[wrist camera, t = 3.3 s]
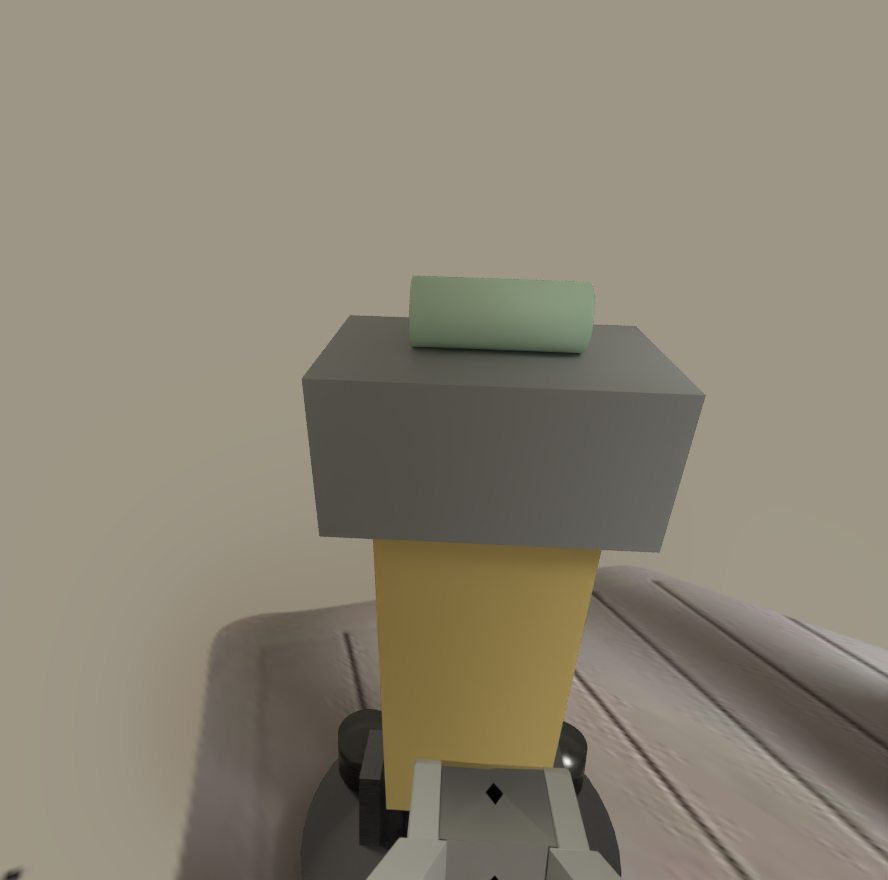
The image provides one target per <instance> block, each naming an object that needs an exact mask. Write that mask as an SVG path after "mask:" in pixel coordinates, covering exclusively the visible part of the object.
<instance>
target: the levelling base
mask: <svg viewBox="0 0 888 880" xmlns="http://www.w3.org/2000/svg"><path fill="white" fill-rule="evenodd" d="M338 751H339V758H338V760H337V761H336V762H335V763H334V764H333V765H332V767H331V768H330V770H329V771H328V773H327V774H326V775H325V777H324V778H323V780H322V782H321V784H320V786H319V788H318V789H317V791H316V793H315V795H314V798H313V800H312V803H311V806H310V808H309V811H308V814H307V818H306V823H305V827H304V831H303V839H302V849H301V864H302V880H366V879H367V878H368V876H369V875H370V874H371V872H372V871H373V870H374V869H375V867H376V866H377V865H378V864H379V862H380V861H381V860H382V859H383V857H384V856H385V855H386V854H387V852H388V851H389V850H390V849H391V847H392V846H393V845H394V843H395V842H396V841H397V840H398V838H407V833H408V824H409V814H410V811H407V810H391V809H386V790H385V770H384V749H383V729H382V712H381V711H378V710H372V709H367V710H360V711H357V712H355V713H353V714H351V715H349V716H348V717H347V718H345V719H344V721H343V722H342V723H341V725H340V727H339V731H338ZM586 755H587V743H586V740H585V738H584V736H583V735H582V733H581V732H580V731H579V730H578V729H576V728H575V727H574V726H572V725H570V724H568V723H566V722H564V721H563V724H562V729H561V733H560V738H559V742H558V747H557V751H556V756H555V760H554V765H553V768H567V769H568V770H569V772H570V773H571V777H572V781H573V785H574V789H575V793H576V797H577V801H578V805H579V809H580V813H581V817H582V821H583V825H584V829H585V833H586V837H587V841H588V845H589V849H590V851H598V852H599V853H600V854H601V855H602V857H603V858H604V859H605V860H606V861H607V862H608V863H609V865H610V866H611V867H612V868H613V869H614V870H615V871H616V873H617V874H618V875H619V876H620V877H621V866H620V855H619V849H618V844H617V840H616V836H615V831H614V829H613V826H612V823H611V820H610V818H609V815H608V812H607V810H606V808H605V806H604V804H603V802H602V800H601V798H600V796H599V794H598V793H597V791H596V790H595V788H594V787H593V785H592V784H591V782H590V780H589V779H588V778H587V776H586V775H585V774H584V771H585V763H586Z"/></svg>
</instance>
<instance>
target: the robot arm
mask: <svg viewBox="0 0 888 880" xmlns="http://www.w3.org/2000/svg"><path fill="white" fill-rule="evenodd" d="M366 880H623V879H622V878H621V877H620V876H619V875H618V874H617V873H616V871H615V870H614V869H613V868H612V867H611V866H610V865H609V863H608V862H607V861H606V860H605V859H604V858H603V857H602V855H601V854H600V853H599V852H598V851H590V849H589V845H588V841H587V837H586V833H585V829H584V825H583V821H582V817H581V813H580V809H579V805H578V801H577V797H576V793H575V789H574V785H573V781H572V777H571V773H570V772H569V770H568V769H567V768H552V767H542V768H541V767H532V766H514V765H496V764H491V765H490V764H479V763H468V762H458V761H447V760H442V767H441V761H440V760H430V759H420V758H416V761H415V765H414V775H413V785H412V794H411V804H410V814H409V824H408V833H407V838H398V840H397V841H396V842H395V843H394V845H393V846H392V847H391V849H390V850H389V851H388V852H387V854H386V855H385V856H384V857H383V859H382V860H381V861H380V862H379V864H378V865H377V866H376V867H375V869H374V870H373V871H372V872H371V874H370V875H369V876H368V878H367V879H366Z"/></svg>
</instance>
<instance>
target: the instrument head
mask: <svg viewBox="0 0 888 880" xmlns="http://www.w3.org/2000/svg"><path fill="white" fill-rule="evenodd" d="M594 313H595V295H594V288H593V285H592V283H591V282H575V281H574V282H573V281H546V280H519V279H491V278H490V279H489V278H464V277H435V276H413V277H412V281H411V290H410V305H409V318H407V317H406V318H405V317H380V316H354V315H350V316H349V317H348V319H347V320H346V321H345V323H344V324H343V325H342V327H341V328H340V329H339V330H338V332H337V333H336V335H335V336H334V337H333V338H332V340H331V341H330V342H329V344H328V345H327V346H326V348H325V349H324V350H323V351H322V353H321V354H320V355H319V357H318V358H317V359H316V361H315V362H314V363H313V365H312V366H311V367H310V369H309V370H308V371H307V373H306V374H305V375H304V376H303V378H302V385H303V394H304V402H305V412H306V420H307V429H308V438H309V447H310V456H311V465H312V474H313V482H314V491H315V500H316V509H317V518H318V528H319V536H323V537H344V538H365V539H373V545H374V546H373V547H374V566H375V587H376V608H377V628H378V648H379V668H380V689H381V709H382V729H383V749H384V770H385V790H386V809H391V810H407V811H410V804H411V794H412V785H413V775H414V765H415V761H416V758H420V759H430V760H440V761H441V767H442V760H447V761H458V762H468V763H479V764H490V765H491V764H496V765H514V766H532V767H541V768H542V767H552V768H553V765H554V760H555V756H556V751H557V747H558V742H559V738H560V733H561V729H562V724H563V720H564V715H565V711H566V706H567V702H568V697H569V693H570V688H571V684H572V680H573V675H574V671H575V666H576V662H577V657H578V653H579V648H580V644H581V639H582V635H583V630H584V626H585V621H586V617H587V612H588V608H589V603H590V599H591V594H592V590H593V585H594V581H595V577H596V572H597V568H598V563H599V559H600V554H601V550H617V551H637V552H658V553H659V552H660V549H661V546H662V542H663V539H664V535H665V532H666V529H667V525H668V522H669V518H670V515H671V512H672V508H673V505H674V501H675V498H676V494H677V491H678V488H679V484H680V481H681V478H682V474H683V471H684V467H685V464H686V460H687V457H688V454H689V450H690V447H691V444H692V440H693V437H694V433H695V430H696V426H697V423H698V420H699V416H700V413H701V409H702V406H703V403H704V399H705V396H706V395H705V394H704V393H703V392H702V391H701V390H700V389H699V388H698V387H697V386H696V385H695V384H694V383H693V382H692V381H691V380H690V379H689V378H688V377H687V376H686V375H685V374H684V373H683V372H682V371H681V370H680V369H679V368H678V367H676V366H675V364H674V363H673V362H672V361H671V360H670V359H669V358H668V357H666V356H665V355H664V354H663V353H662V352H661V351H660V350H659V349H658V348H657V347H656V346H655V345H654V344H653V343H652V342H651V341H650V340H649V339H648V338H647V337H646V336H645V335H644V334H643V333H642V332H641V331H640V330H639V329H638V328H637V327H636V326H618V325H593V323H594Z"/></svg>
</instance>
